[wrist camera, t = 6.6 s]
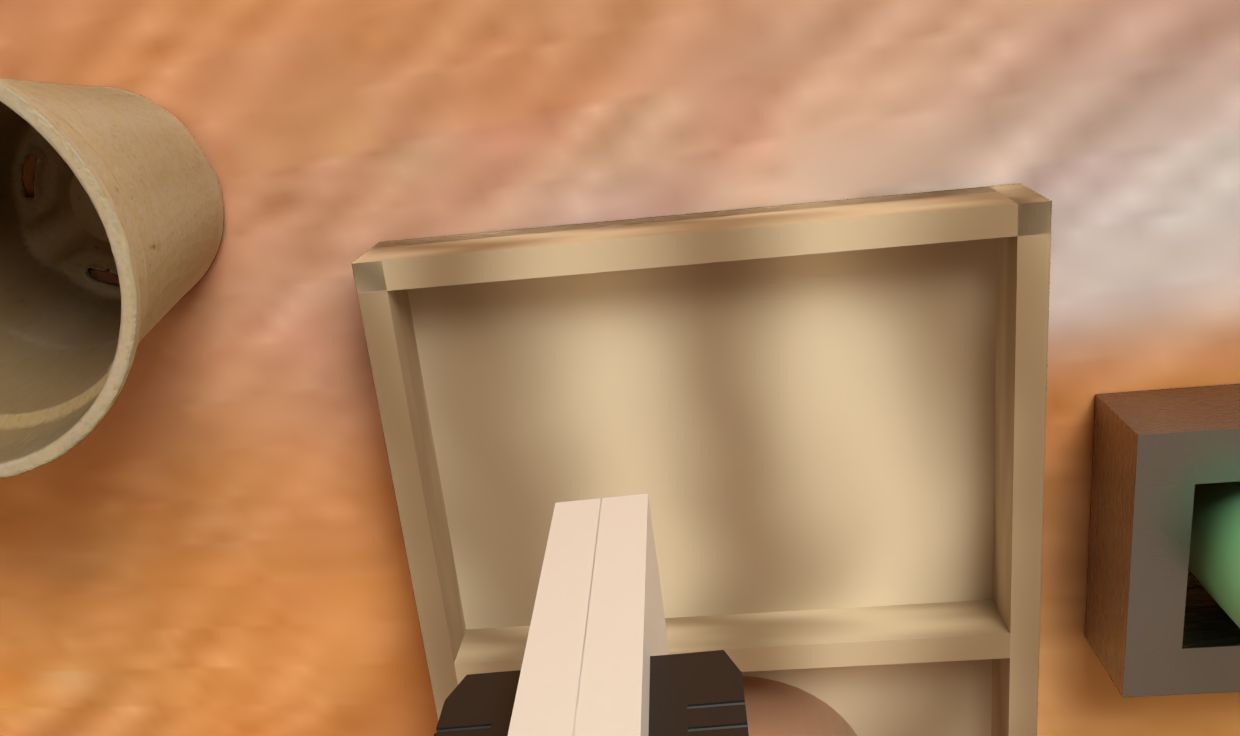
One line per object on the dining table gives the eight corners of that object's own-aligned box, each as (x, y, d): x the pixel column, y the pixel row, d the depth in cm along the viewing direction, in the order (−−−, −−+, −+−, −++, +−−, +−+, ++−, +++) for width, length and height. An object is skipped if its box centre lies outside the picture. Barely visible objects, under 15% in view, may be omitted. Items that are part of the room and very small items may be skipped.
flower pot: (318, 341, 31) (186, 462, 23) (18, 375, 32) (-211, 503, 24) (238, 4, 28) (53, 4, 20) (-91, 53, 29) (-396, 73, 21)
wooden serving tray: (503, 930, 38) (490, 995, 35) (379, 242, 30) (351, 263, 27) (1006, 915, 36) (1029, 982, 34) (1020, 183, 28) (1052, 201, 26)
